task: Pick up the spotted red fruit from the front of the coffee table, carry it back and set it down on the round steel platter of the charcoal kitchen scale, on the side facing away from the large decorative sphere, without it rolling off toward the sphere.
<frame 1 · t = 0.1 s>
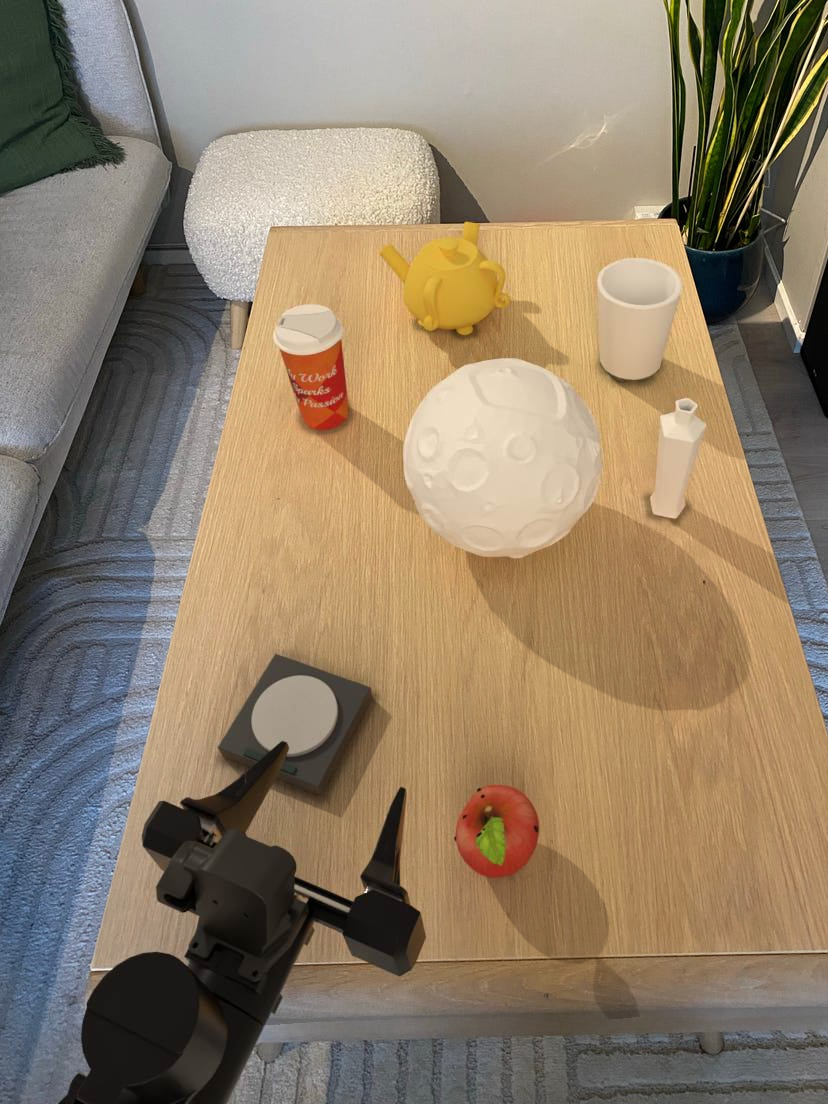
hand: (343, 766, 63), 16 cm above the table, tool horizontal, fingers open, 9 cm apart
decorative sphere: (504, 521, 99), on the table
cup: (629, 365, 115), on the table
scale: (299, 726, 83), on the table
teapot: (448, 309, 124), on the table
paper cup: (326, 415, 111), on the table
spotted red fruit: (499, 854, 75), on the table
white faceted vase: (667, 507, 100), on the table
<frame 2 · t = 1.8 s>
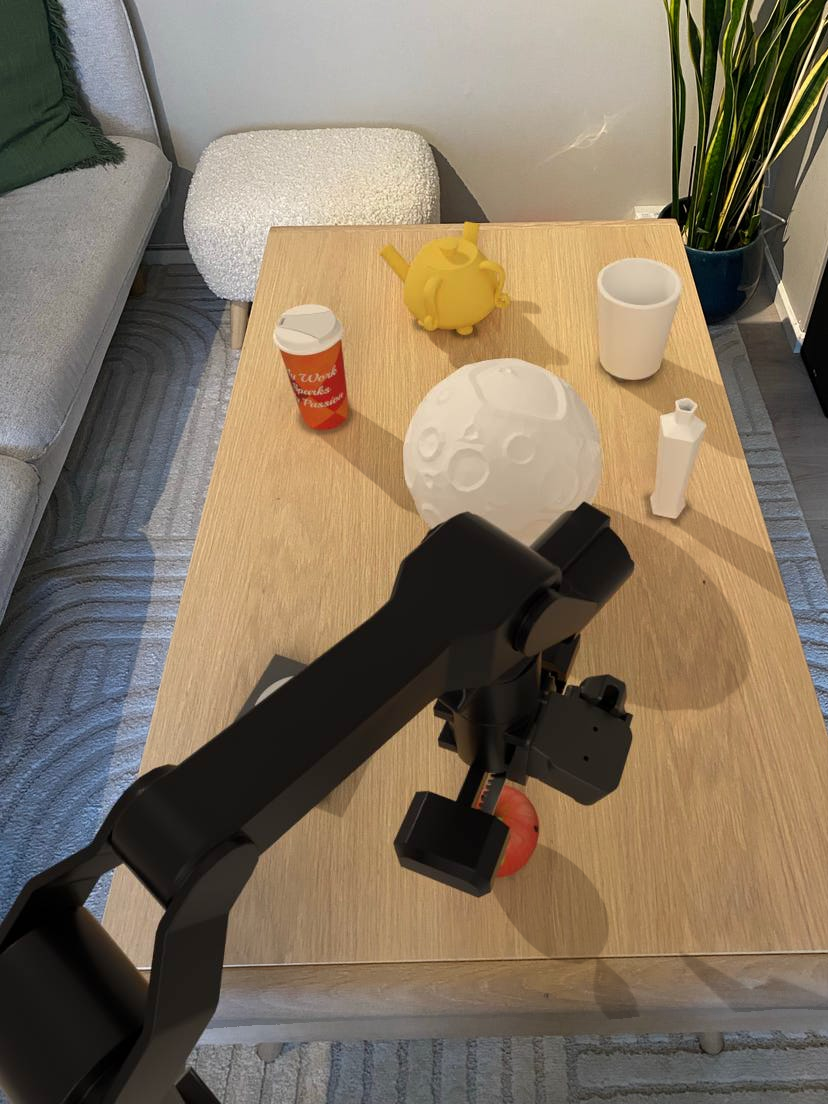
hand: (496, 789, 66), 13 cm above the table, tool pointing down, fingers open, 9 cm apart
nothing on the table moved.
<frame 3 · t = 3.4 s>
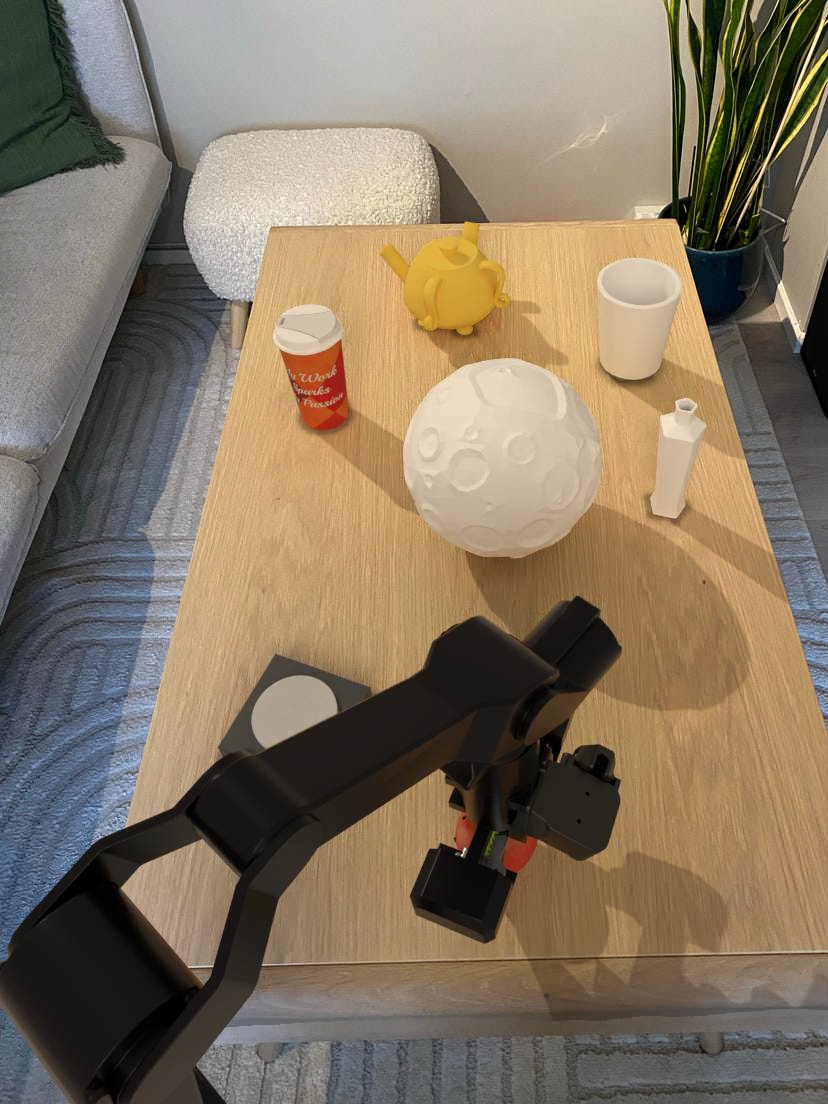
hand: (500, 838, 73), 3 cm above the table, tool pointing down, fingers closed on spotted red fruit, 7 cm apart
spotted red fruit: (499, 854, 75), on the table, touching gripper
everything else where it was.
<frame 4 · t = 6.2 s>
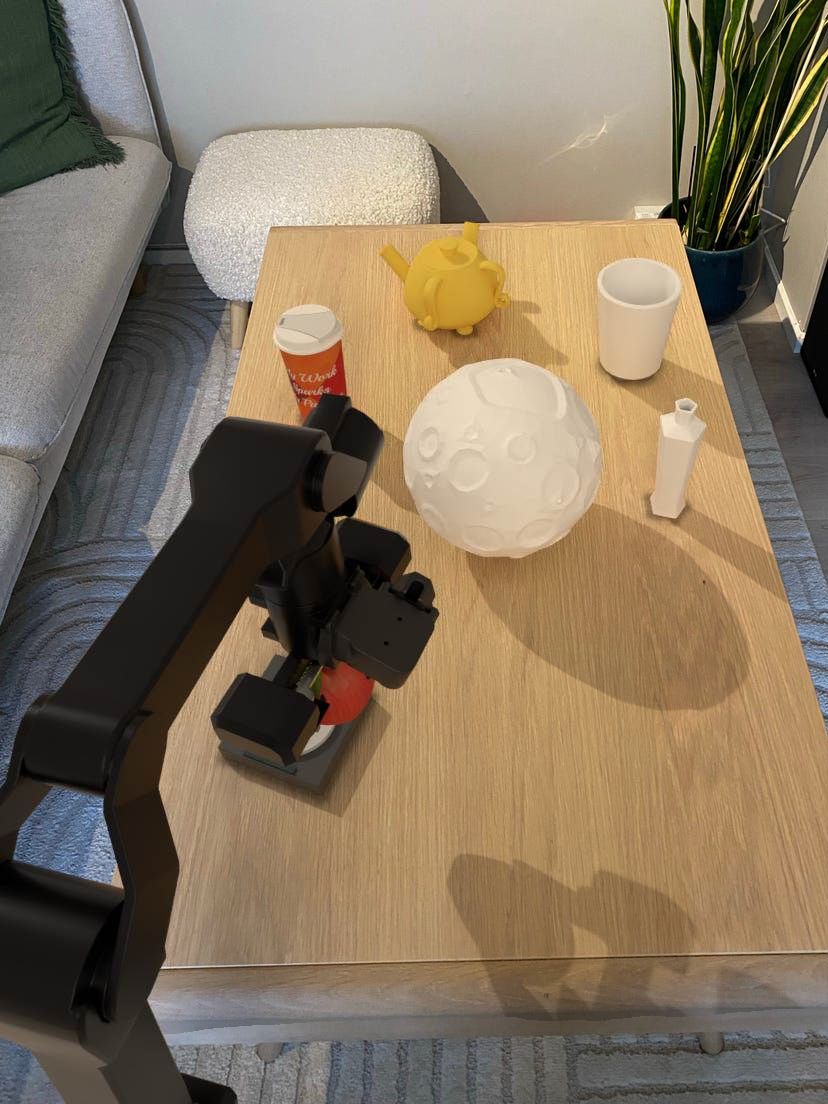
hand: (336, 688, 71), 13 cm above the table, tool pointing down, fingers closed on spotted red fruit, 7 cm apart
spotted red fruit: (340, 710, 73), point 10 cm above the table, touching gripper
everything else where it was.
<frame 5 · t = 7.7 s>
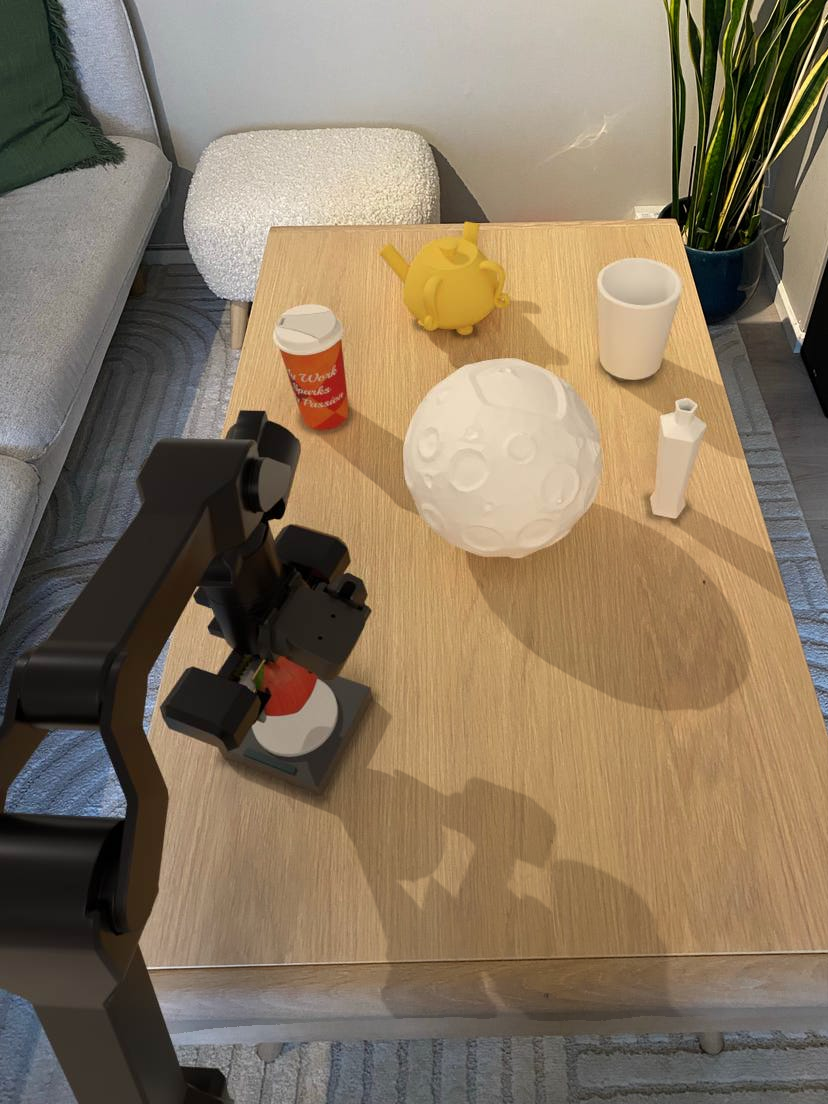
hand: (282, 682, 77), 8 cm above the table, tool pointing down, fingers closed on spotted red fruit, 7 cm apart
spotted red fruit: (287, 702, 79), point 5 cm above the table, touching gripper
everything else where it was.
when the fingers open (5 cm above the table, at t = 9.0 s): spotted red fruit stays where it is, resting on scale.
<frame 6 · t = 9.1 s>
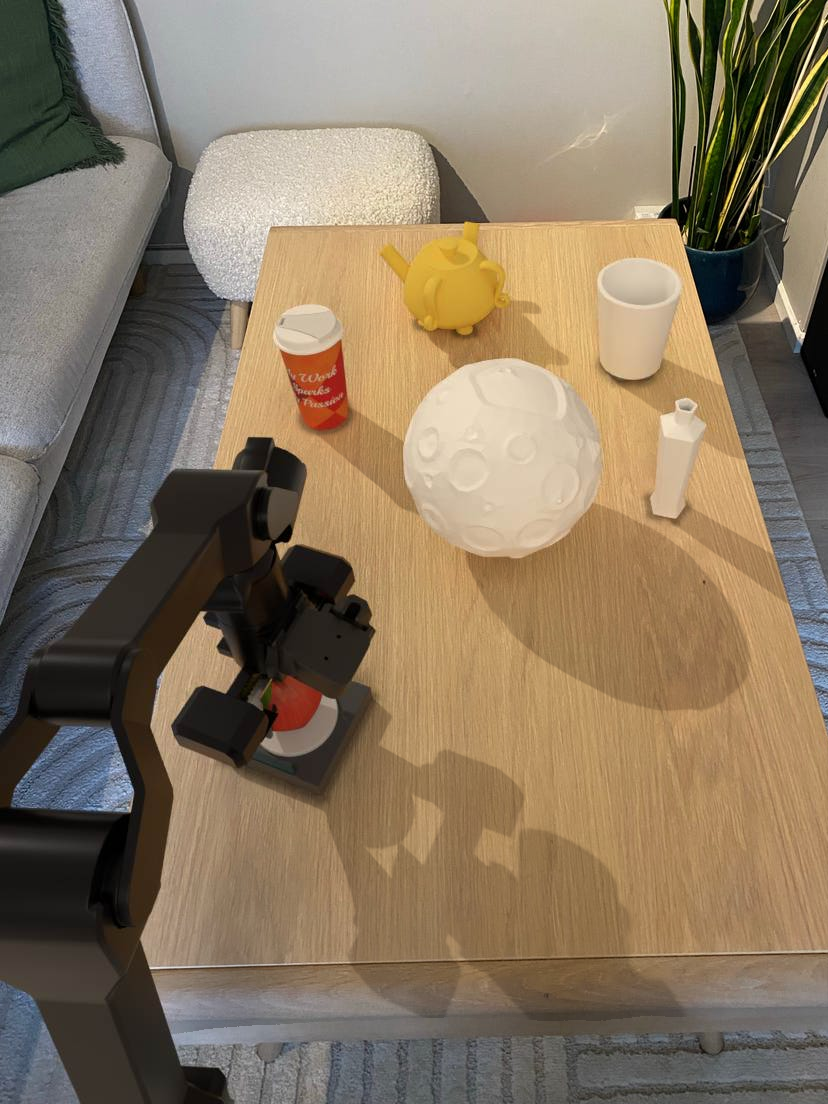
hand: (288, 698, 79), 5 cm above the table, tool pointing down, fingers open, 7 cm apart
spotted red fruit: (293, 718, 81), point 2 cm above the table, touching scale
everything else where it was.
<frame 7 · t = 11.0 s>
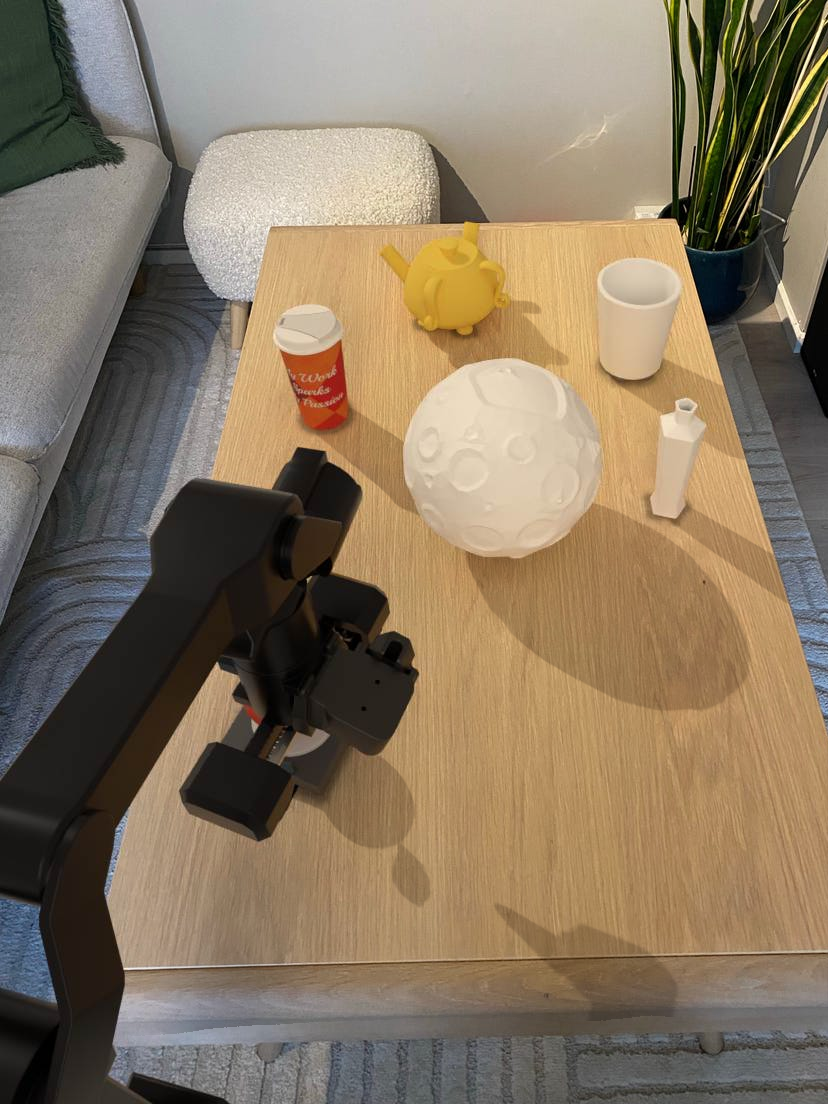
hand: (312, 749, 68), 13 cm above the table, tool pointing down, fingers open, 9 cm apart
nothing on the table moved.
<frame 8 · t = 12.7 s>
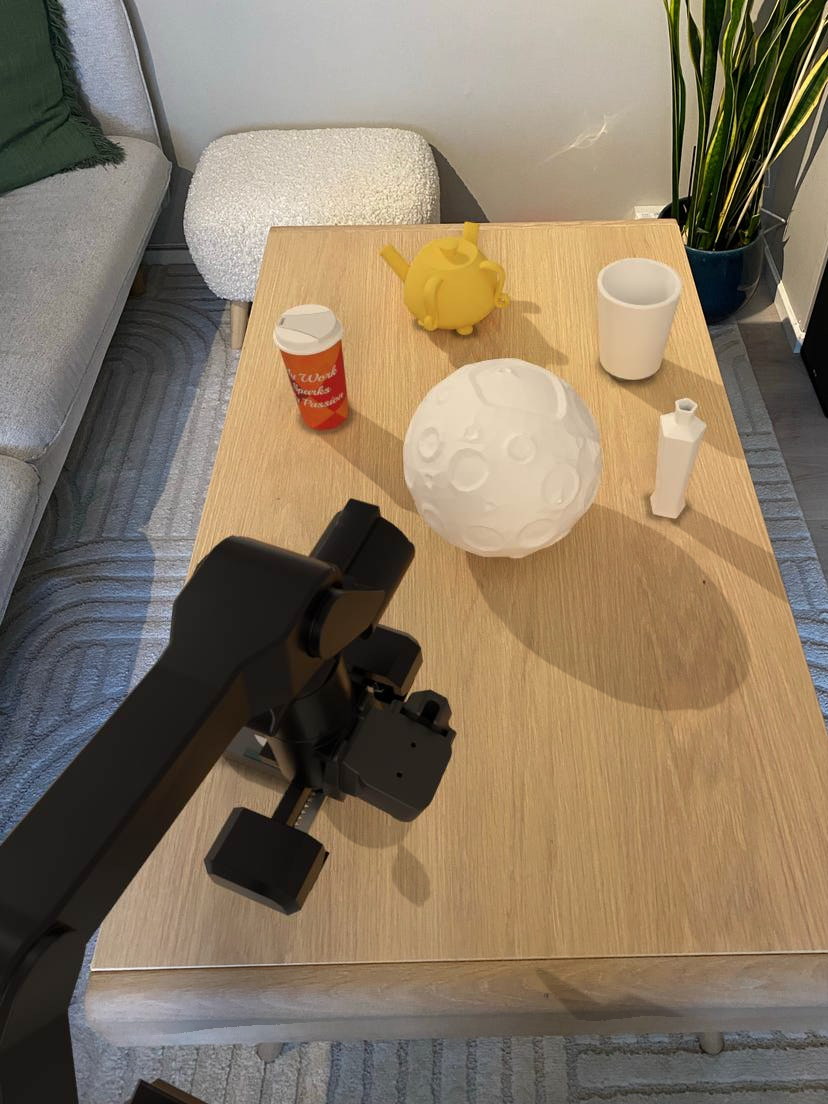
hand: (341, 803, 65), 13 cm above the table, tool pointing down, fingers open, 9 cm apart
nothing on the table moved.
at the end: spotted red fruit inside the target area on the scale (0.4 cm from its centre), point 2.4 cm above the scale's base; the gripper is holding nothing; spotted red fruit touching scale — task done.
